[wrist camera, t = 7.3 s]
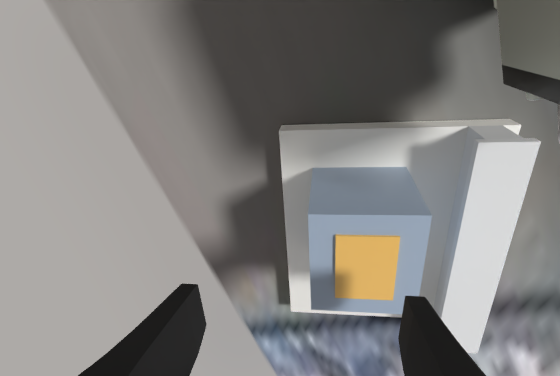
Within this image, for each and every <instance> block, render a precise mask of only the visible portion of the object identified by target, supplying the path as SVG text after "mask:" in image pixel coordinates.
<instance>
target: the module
mask: <svg viewBox="0 0 560 376" xmlns="http://www.w3.org/2000/svg"><path fill="white" fill-rule="evenodd" d="M431 219H432V214H431V213H430V211H429V209H428V207H427V205H426V203H425V201H424V199H423V197H422V196H421V194H420V192H419V190H418V188H417V186H416V184H415V182H414V180H413V179H412V177H411V175H410V173H409V171H408V169H407V167H338V168H313V170H312V180H311V190H310V199H309V209H308V231H309V261H310V290H311V310H327V311H346V312H366V313H385V314H402V313H403V306H404V300H405V296H419V294H420V288H421V282H422V275H423V269H424V263H425V257H426V250H427V244H428V238H429V232H430V226H431Z"/></svg>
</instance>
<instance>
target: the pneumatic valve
mask: <svg viewBox="0 0 560 376" xmlns="http://www.w3.org/2000/svg"><path fill="white" fill-rule="evenodd" d="M494 7H495V9H497V10H498V21H499V33H500V46H501V58H502V70H503V82H504V84H506V85H509V86H511V87H514V88H517V89H519V90H522V91H525V92H526V98H527V99H528V100H540V99H546V100H549V101H552V102H555V103H557V104H558V141H559V144H560V0H494Z"/></svg>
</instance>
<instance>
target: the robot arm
mask: <svg viewBox="0 0 560 376" xmlns="http://www.w3.org/2000/svg"><path fill="white" fill-rule="evenodd" d="M205 327H206V321H205V316H204V312H203V307H202V302H201V298H200V293H199V288H198V285H196V284H181V285H180V286H179V287H178V288H177V289H176V290H175V291H174V292H173V293H171V294H170V295H169V296H168V297H167V298H166V299H165V300H164V301H163V302H162V303H161V304H160V305H159V306H158V307H157V308H156V309H155V310H154V311H153V312H152V313H151V314H150V315H149V316H148V317H147V318H146V319H145V320H144V321H142V323H140V324H139V325H138V326H137V327H136V328H135V329H134V330H133V331H132V332H131V333H129V334H128V335H127V336H126V337H125V338H124V339H123V340H121V342H119V343H118V344H117V345H116V346H115V347H113V348H112V349H111V350H110V351H109V352H108V353H107V354H105V355H104V356H103V357H102V358H100V359H99V360H98V361H97V362H95V363H94V364H93V365H92V366H90V367H89V368H87V369H86V370H85V371H83V372H82V373H81V374H80V375H78V376H189V375H190V373H191V370H192V368H193V365H194V363H195V360H196V358H197V355H198V353H199V349H200V346H201V343H202V339H203V335H204V332H205ZM398 339H399V345H400V352H401V359H402V365H403V371H404V375H405V376H486V375H485V374H484V373H483V372H482V370H481V369H480V368H479V367H478V366H477V364H476V363H475V362H474V361H473V360H472V358H471V357H470V356H469V355H468V353H467V352H466V351H465V350H464V348H463V347H462V346H461V345H460V343H459V342H458V341H457V340H456V338H455V337H454V336H453V334H452V333H451V332H450V330H449V329H448V328H447V326H446V325H445V324H444V322H443V321H442V320H441V318H440V317H439V315H438V314H437V313H436V311H435V310H434V308H433V307H432V305H431V304H430V303H429V301H428V300H427V299H426V298H425V297H423V296H405V300H404V306H403V313H402V319H401V325H400V332H399V338H398Z"/></svg>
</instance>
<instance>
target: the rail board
mask: <svg viewBox="0 0 560 376" xmlns="http://www.w3.org/2000/svg"><path fill="white" fill-rule="evenodd" d="M520 127H521V125H520V124H519V123H517V122H515V121H513V120H511V119H485V120H449V121H412V122H375V123H339V124H302V125H281V127H280V129H279V140H280V155H281V170H282V184H283V199H284V214H285V229H286V243H287V258H288V273H289V287H290V302H291V311H292V312H310V313H329V314H347V315H366V316H385V317H402V314H385V313H366V312H346V311H327V310H311V290H310V261H309V231H308V209H309V199H310V190H311V180H312V170H313V168H338V167H407V169H408V171H409V173H410V175H411V177H412V179H413V180H414V182H415V184H416V186H417V188H418V190H419V192H420V194H421V196H422V197H423V199H424V201H425V203H426V205H427V207H428V209H429V211H430V213H431V214H432V219H431V226H430V232H429V238H428V244H427V250H426V257H425V263H424V269H423V275H422V282H421V288H420V294H419V296H423V297H425V298H426V299H427V300H428V301H429V303H430V304H431V305H432V307H433V308H434V310H435V311H436V313H437V314H438V315H439V317H440V318H441V320H442V321H443V322H444V324H445V325H446V326H447V328H448V329H449V330H450V332H451V333H452V334H453V336H454V337H455V338H456V340H457V341H458V342H459V343H460V345H461V346H462V347H463V348H464V350H465V351H466V352H467V353H478V350H479V346H480V343H481V340H482V336H483V333H484V330H485V326H486V323H487V320H488V316H489V313H490V310H491V306H492V303H493V300H494V296H495V293H496V290H497V286H498V283H499V280H500V276H501V273H502V270H503V266H504V263H505V259H506V256H507V253H508V249H509V246H510V243H511V239H512V236H513V233H514V229H515V226H516V223H517V219H518V216H519V213H520V209H521V206H522V203H523V199H524V196H525V193H526V189H527V186H528V183H529V179H530V176H531V173H532V169H533V166H534V163H535V159H536V156H537V153H538V149H539V146H540V143H541V141H539V140H537V139H536V138H522V137H521V136H519V131H520Z"/></svg>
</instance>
